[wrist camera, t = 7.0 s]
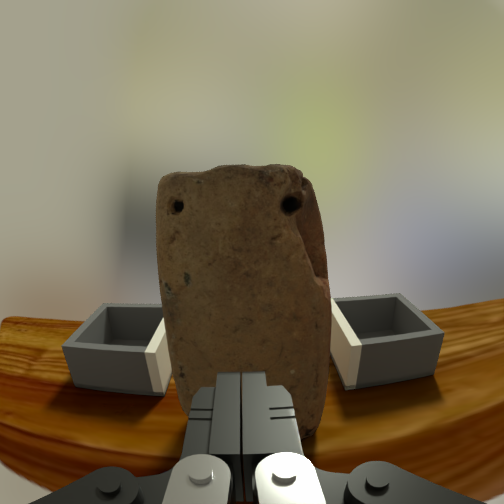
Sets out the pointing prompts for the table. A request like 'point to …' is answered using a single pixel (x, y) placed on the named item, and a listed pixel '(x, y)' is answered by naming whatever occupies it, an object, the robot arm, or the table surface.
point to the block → (245, 282)
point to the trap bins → (341, 349)
